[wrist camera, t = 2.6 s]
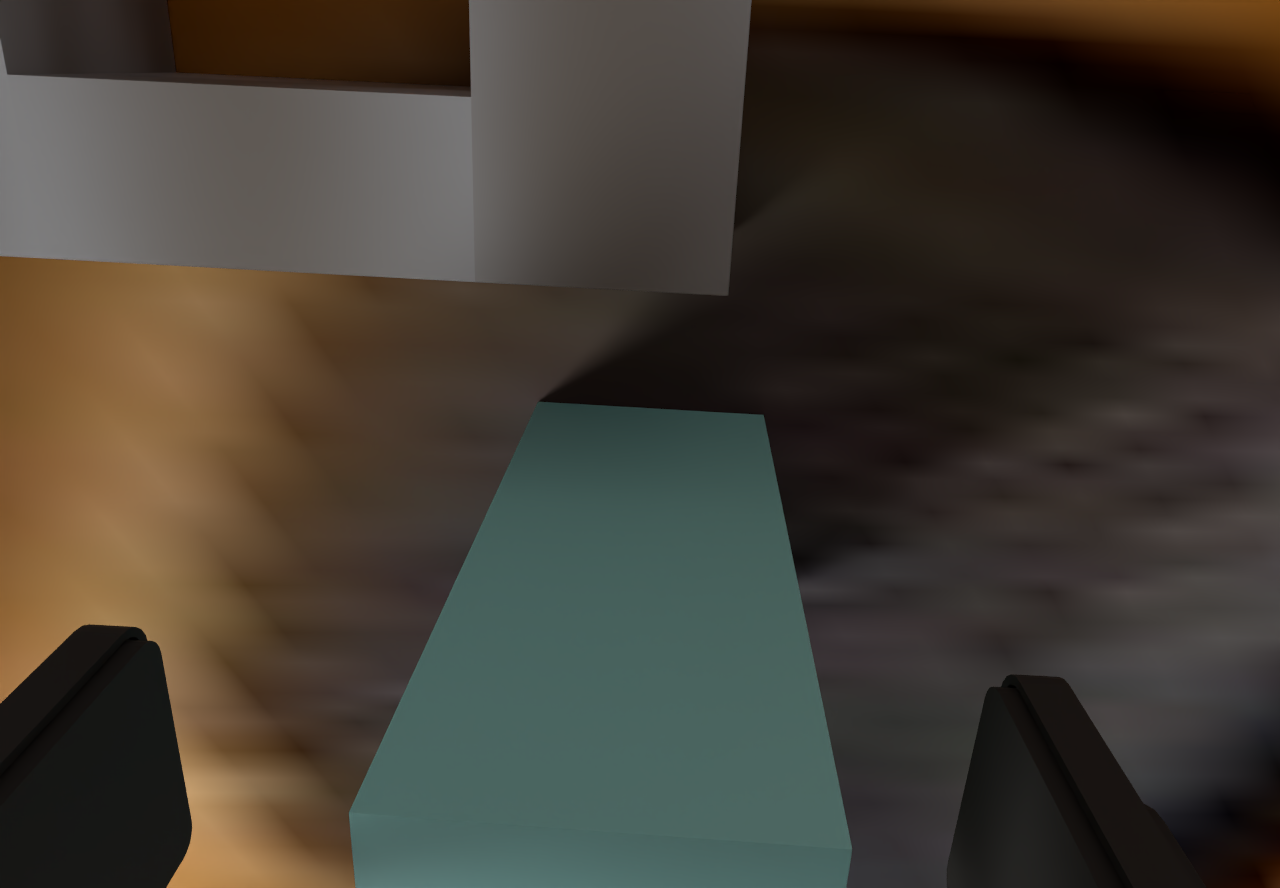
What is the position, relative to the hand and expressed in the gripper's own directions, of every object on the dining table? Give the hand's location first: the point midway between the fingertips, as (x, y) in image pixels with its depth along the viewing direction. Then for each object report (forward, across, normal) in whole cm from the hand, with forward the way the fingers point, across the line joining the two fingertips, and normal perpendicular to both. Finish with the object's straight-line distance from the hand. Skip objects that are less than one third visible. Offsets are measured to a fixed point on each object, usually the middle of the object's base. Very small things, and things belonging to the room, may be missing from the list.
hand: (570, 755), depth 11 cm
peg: (+7, -1, 0) cm, 7 cm away
